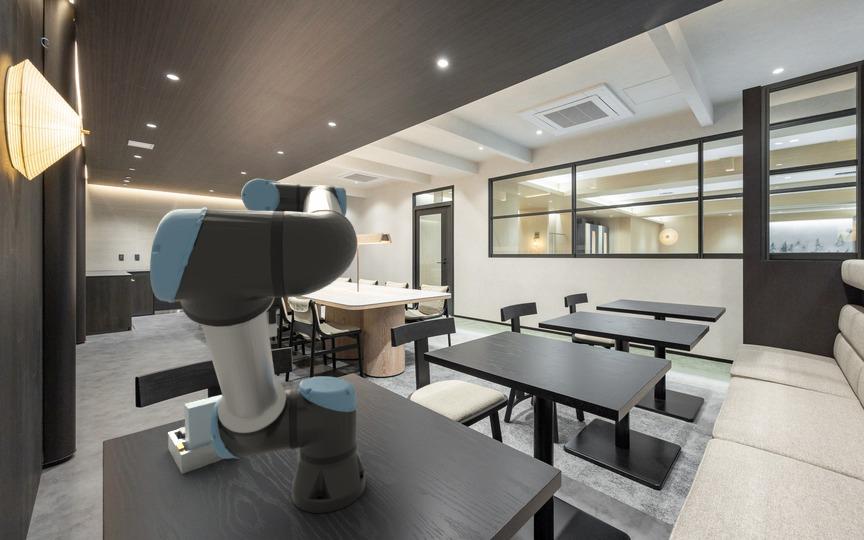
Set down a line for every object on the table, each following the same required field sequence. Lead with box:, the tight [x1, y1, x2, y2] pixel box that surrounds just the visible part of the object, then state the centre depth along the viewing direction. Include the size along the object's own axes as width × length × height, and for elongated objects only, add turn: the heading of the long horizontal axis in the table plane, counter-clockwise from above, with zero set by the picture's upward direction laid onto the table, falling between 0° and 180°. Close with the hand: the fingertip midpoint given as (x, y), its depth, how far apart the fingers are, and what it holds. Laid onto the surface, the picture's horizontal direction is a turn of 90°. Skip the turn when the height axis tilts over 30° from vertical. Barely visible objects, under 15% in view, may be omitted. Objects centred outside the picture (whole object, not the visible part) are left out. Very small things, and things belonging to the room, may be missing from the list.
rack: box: [167, 426, 225, 475], centre depth 93 cm, size 15×12×6 cm
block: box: [183, 394, 223, 451], centre depth 90 cm, size 4×8×12 cm, turn 135°
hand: (270, 336), depth 93 cm, fingers closed
